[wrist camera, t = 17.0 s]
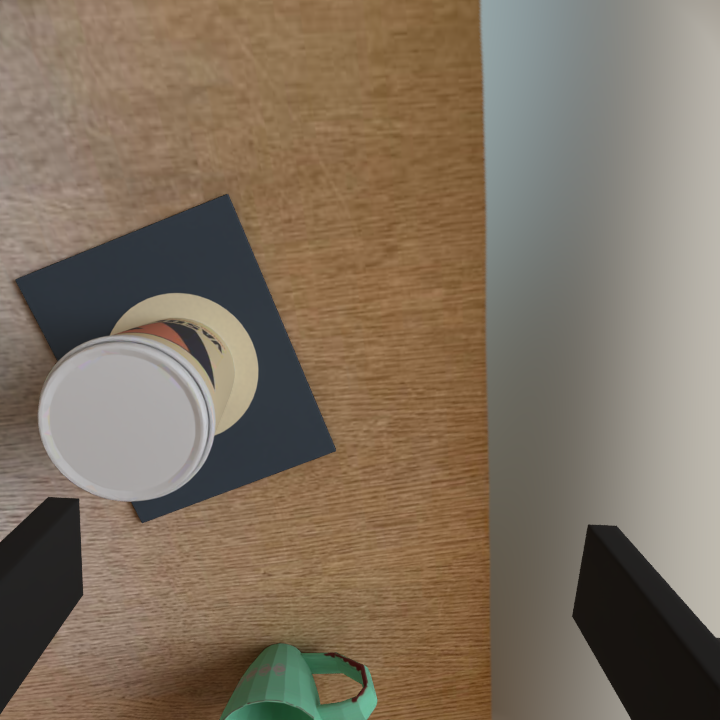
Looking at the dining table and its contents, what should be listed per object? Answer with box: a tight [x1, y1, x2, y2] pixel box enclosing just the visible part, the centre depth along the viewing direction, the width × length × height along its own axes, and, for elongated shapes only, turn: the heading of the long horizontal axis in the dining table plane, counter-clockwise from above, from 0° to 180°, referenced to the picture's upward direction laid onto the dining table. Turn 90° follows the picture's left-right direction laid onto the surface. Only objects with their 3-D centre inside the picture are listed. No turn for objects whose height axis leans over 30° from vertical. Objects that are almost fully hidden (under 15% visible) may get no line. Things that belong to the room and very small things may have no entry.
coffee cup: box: [38, 318, 235, 502], centre depth 37 cm, size 9×9×12 cm
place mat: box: [16, 194, 336, 523], centre depth 43 cm, size 20×16×1 cm
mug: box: [219, 643, 377, 720], centre depth 45 cm, size 12×8×8 cm, turn 111°
